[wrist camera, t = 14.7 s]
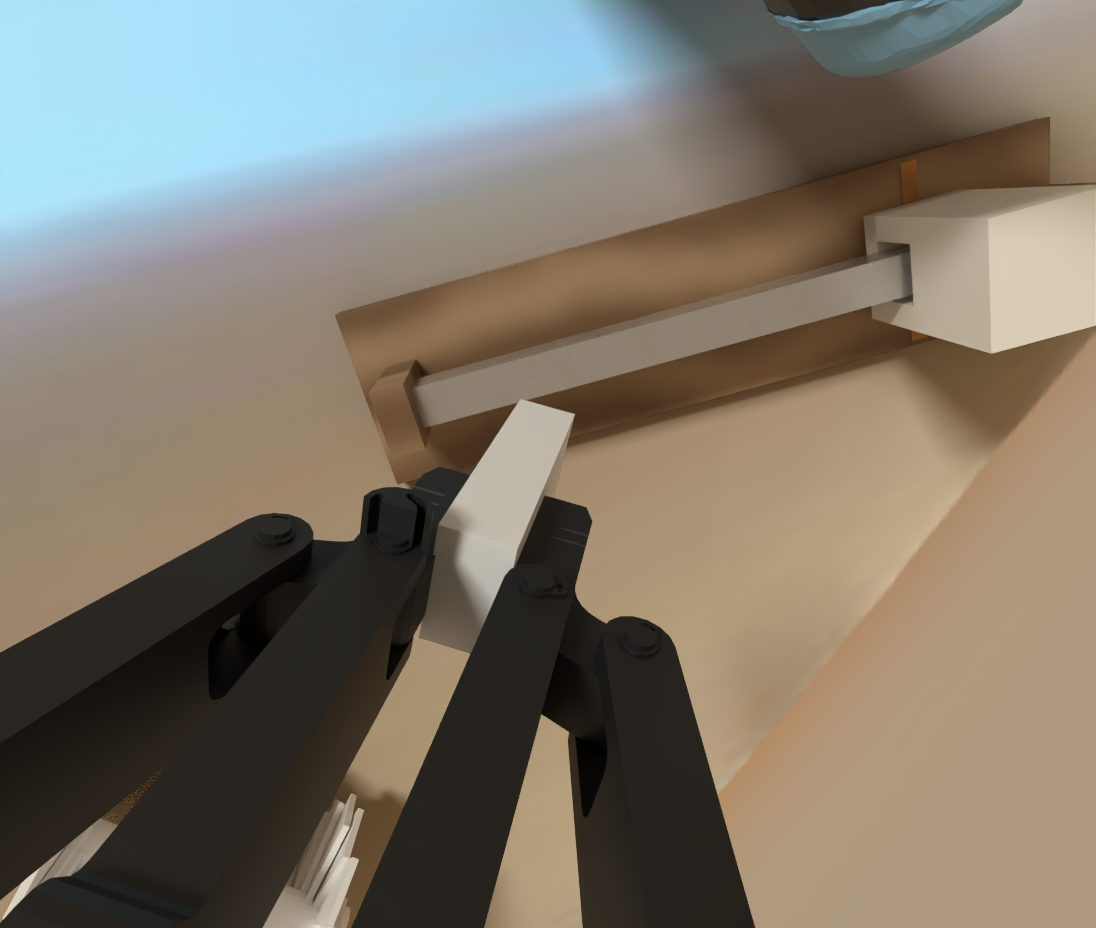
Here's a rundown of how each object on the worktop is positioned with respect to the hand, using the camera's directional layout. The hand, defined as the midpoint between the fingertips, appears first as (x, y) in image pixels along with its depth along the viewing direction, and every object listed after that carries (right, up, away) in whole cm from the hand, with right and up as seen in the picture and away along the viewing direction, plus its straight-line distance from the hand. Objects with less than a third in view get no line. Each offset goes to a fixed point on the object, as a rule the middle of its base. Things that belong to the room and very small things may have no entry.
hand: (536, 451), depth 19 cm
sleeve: (+24, +13, +26) cm, 37 cm away
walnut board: (+10, +10, +28) cm, 31 cm away
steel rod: (+12, +9, +24) cm, 28 cm away
